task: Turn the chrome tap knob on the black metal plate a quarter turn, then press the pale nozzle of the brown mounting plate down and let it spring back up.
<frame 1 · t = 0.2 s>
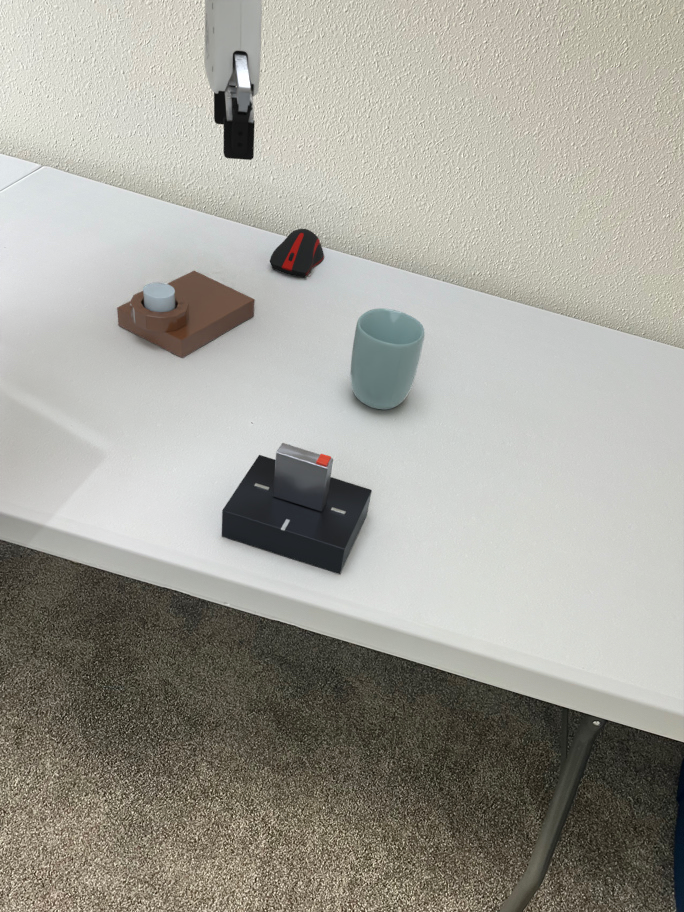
hand: (233, 140, 89), 21 cm above the table, tool pointing down, fingers open, 9 cm apart
cup: (377, 400, 95), on the table
pump: (159, 297, 93), point 5 cm above the table, slide at 0.1 cm
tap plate: (296, 525, 78), on the table
brown mounting plate: (188, 320, 100), on the table
tap knob: (302, 476, 73), point 6 cm above the table, hinge at 0.0°
computer mouse: (297, 262, 116), on the table
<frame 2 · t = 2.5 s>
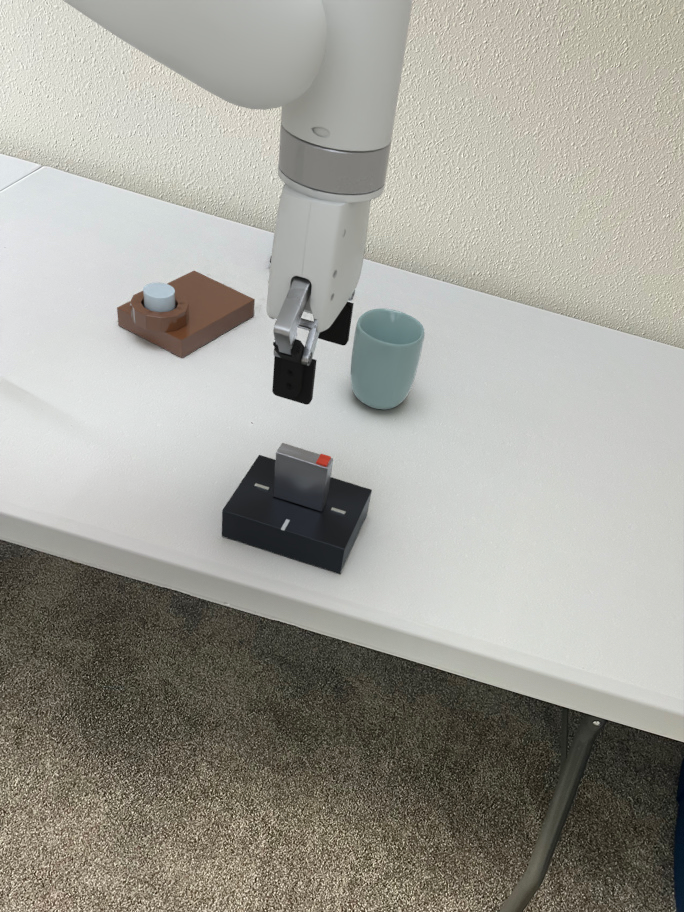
hand: (312, 367, 66), 18 cm above the table, tool pointing down, fingers open, 9 cm apart
nothing on the table moved.
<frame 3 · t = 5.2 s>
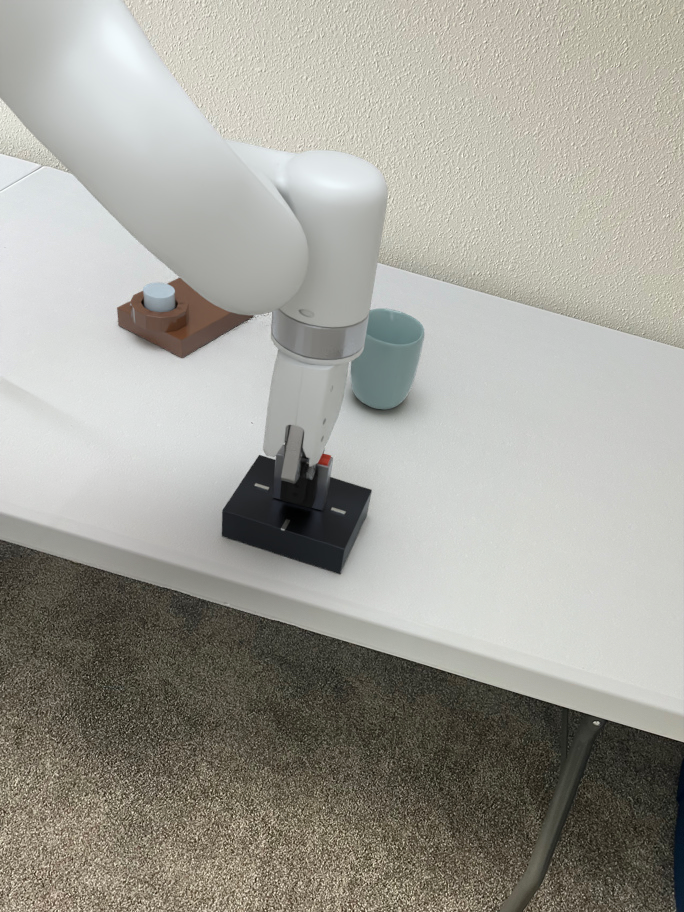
hand: (300, 493, 75), 4 cm above the table, tool pointing down, fingers closed on tap knob
tap knob: (302, 476, 73), point 6 cm above the table, hinge at 4.4°, touching gripper
everything else where it was.
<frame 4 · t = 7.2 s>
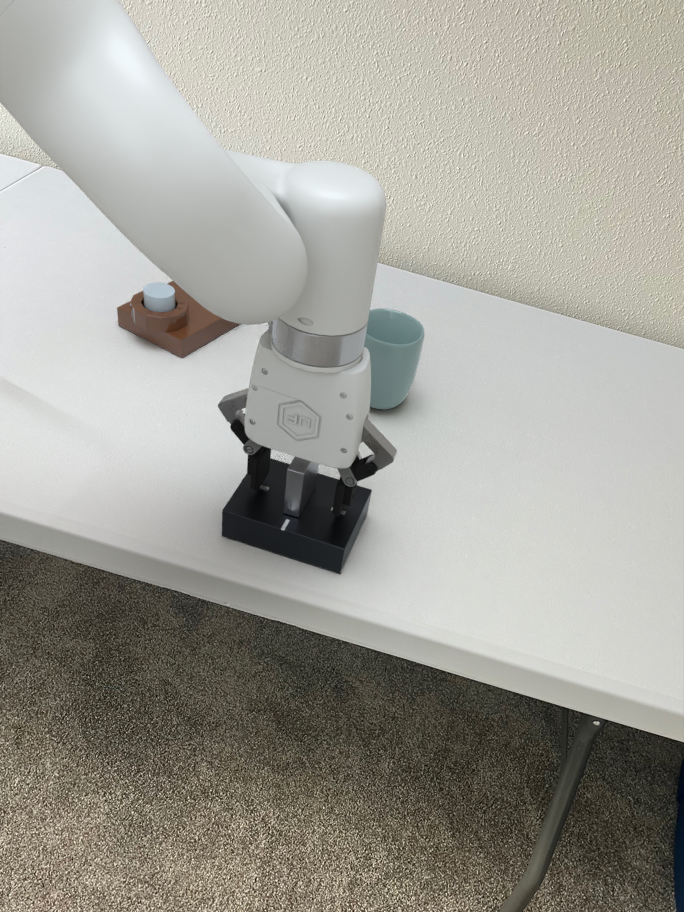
hand: (300, 492, 75), 4 cm above the table, tool pointing down, fingers open, 7 cm apart
tap knob: (302, 476, 73), point 6 cm above the table, hinge at 90.3°
everything else where it was.
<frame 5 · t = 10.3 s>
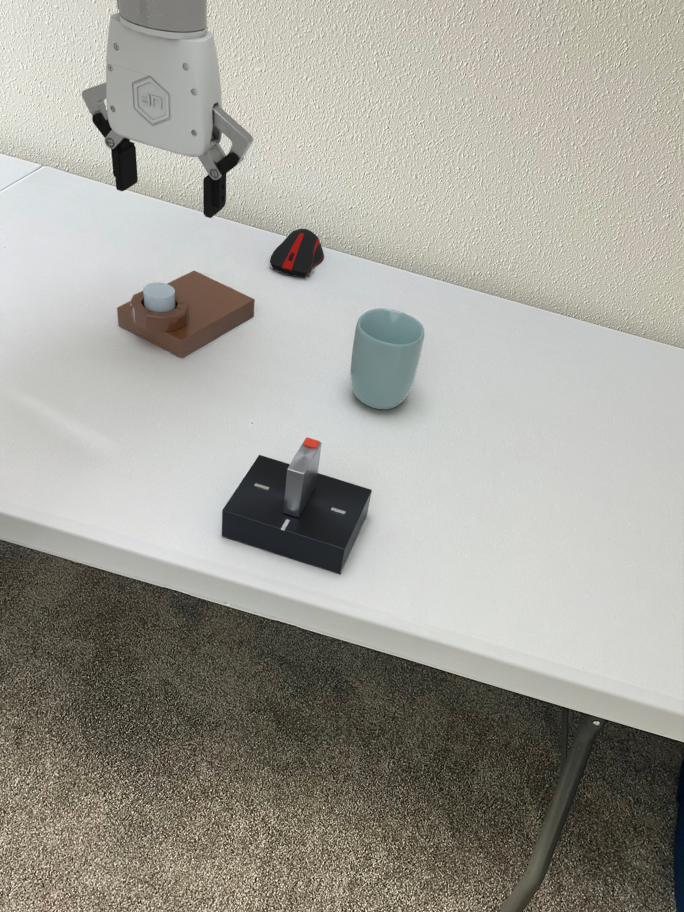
hand: (170, 199, 81), 19 cm above the table, tool pointing down, fingers open, 9 cm apart
nothing on the table moved.
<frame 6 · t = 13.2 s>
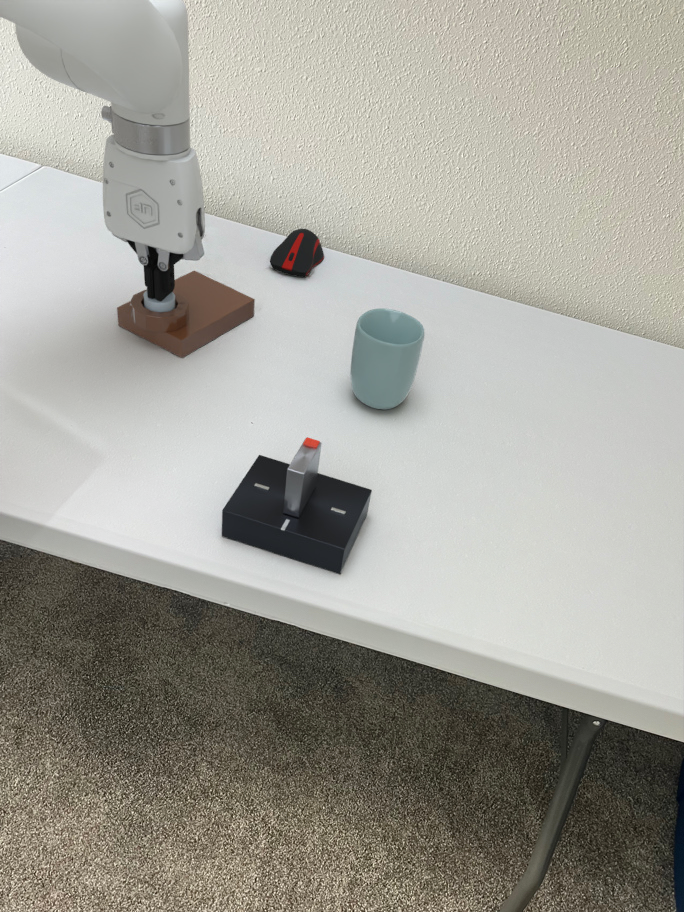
hand: (160, 294, 93), 5 cm above the table, tool pointing down, fingers closed
pump: (159, 303, 93), point 4 cm above the table, slide at -0.6 cm, touching gripper
everything else where it was.
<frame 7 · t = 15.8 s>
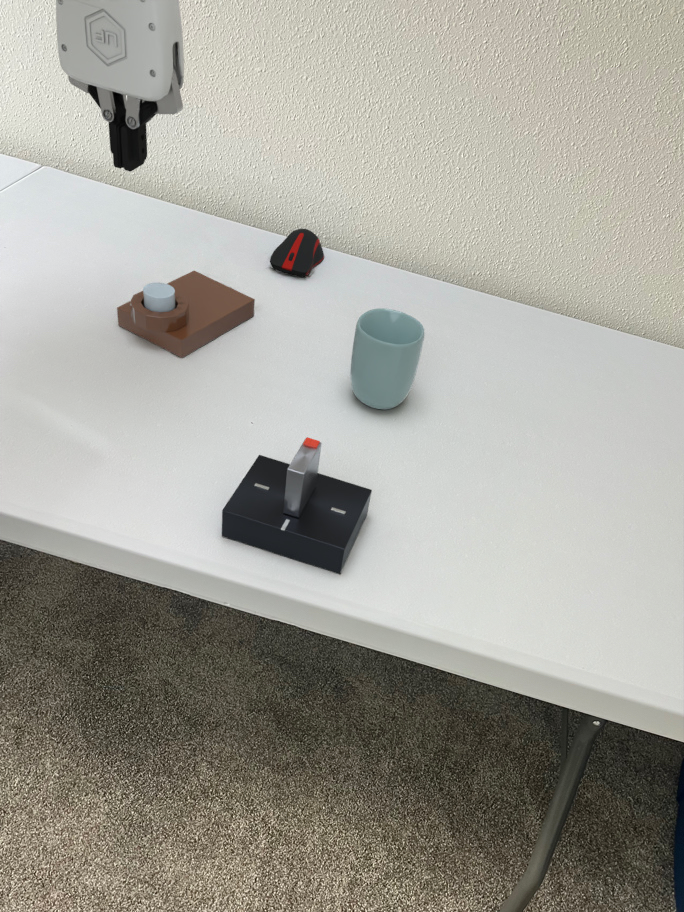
hand: (129, 165, 76), 22 cm above the table, tool pointing down, fingers closed
pump: (159, 297, 93), point 5 cm above the table, slide at 0.1 cm
everything else where it was.
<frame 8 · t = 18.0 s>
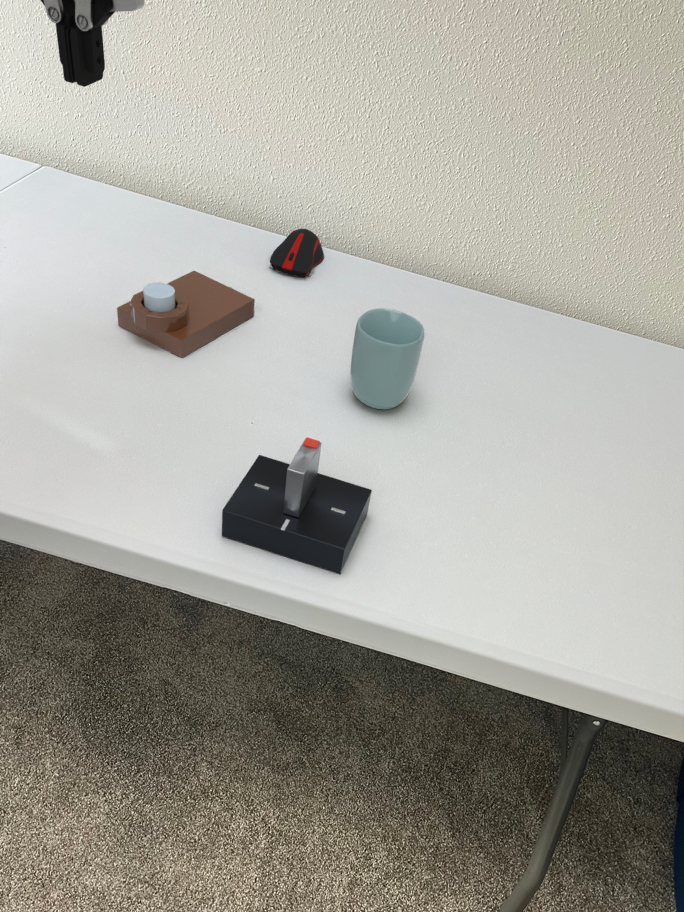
hand: (84, 79, 64), 32 cm above the table, tool pointing down, fingers closed
nothing on the table moved.
at the end: tap knob at +90° (first picture: +0°); pump pushed in 1.2 cm at the most during the clip, back to where it started at the end; pump slide at 0.1 cm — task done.
